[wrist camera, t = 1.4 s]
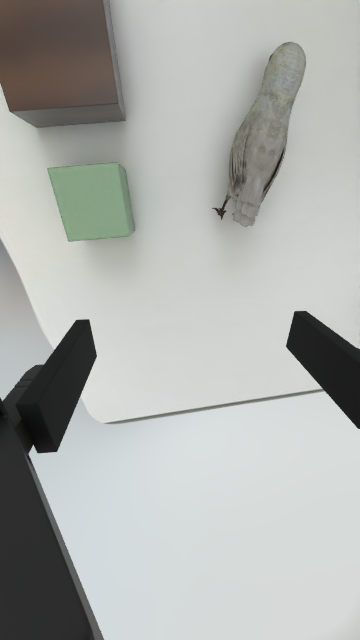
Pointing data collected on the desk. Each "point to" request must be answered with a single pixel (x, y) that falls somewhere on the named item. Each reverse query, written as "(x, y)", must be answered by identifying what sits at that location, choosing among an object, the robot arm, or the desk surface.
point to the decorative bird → (264, 134)
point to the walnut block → (59, 62)
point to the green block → (93, 200)
